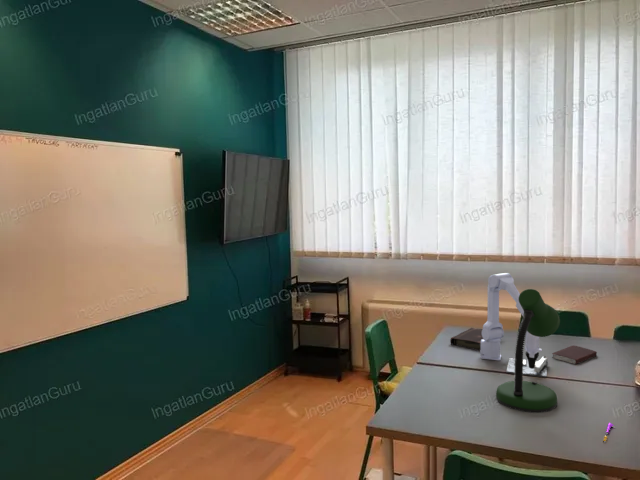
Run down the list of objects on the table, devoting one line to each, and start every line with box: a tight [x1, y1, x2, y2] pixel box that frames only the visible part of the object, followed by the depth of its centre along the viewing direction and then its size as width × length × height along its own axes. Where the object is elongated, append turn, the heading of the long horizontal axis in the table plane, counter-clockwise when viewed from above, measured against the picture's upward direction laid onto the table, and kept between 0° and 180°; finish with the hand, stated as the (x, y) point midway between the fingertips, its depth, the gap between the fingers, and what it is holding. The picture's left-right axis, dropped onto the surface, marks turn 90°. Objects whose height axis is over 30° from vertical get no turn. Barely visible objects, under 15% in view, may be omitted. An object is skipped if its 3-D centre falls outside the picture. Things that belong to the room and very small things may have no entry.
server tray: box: [506, 357, 548, 378], centre depth 243 cm, size 17×20×2 cm
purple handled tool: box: [602, 422, 614, 442], centre depth 178 cm, size 3×1×16 cm
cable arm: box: [534, 355, 549, 373], centre depth 239 cm, size 17×3×3 cm, turn 144°
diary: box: [449, 327, 483, 351], centre depth 284 cm, size 19×25×5 cm
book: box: [551, 344, 598, 365], centre depth 256 cm, size 12×19×3 cm, turn 124°
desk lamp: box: [495, 288, 561, 414], centre depth 207 cm, size 31×23×45 cm
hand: (531, 368), depth 235 cm, fingers closed
